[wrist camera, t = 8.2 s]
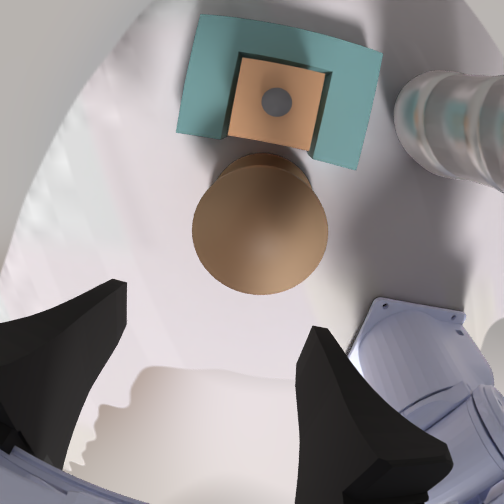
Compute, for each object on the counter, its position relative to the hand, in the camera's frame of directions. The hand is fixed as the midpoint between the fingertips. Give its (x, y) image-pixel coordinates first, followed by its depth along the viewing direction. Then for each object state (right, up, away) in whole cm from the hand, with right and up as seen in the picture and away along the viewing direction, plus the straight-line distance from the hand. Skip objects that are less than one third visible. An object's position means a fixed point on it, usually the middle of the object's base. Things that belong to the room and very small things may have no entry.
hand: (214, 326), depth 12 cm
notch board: (+3, +12, +5) cm, 14 cm away
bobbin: (+2, +6, +8) cm, 10 cm away
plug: (+3, +11, +6) cm, 13 cm away
